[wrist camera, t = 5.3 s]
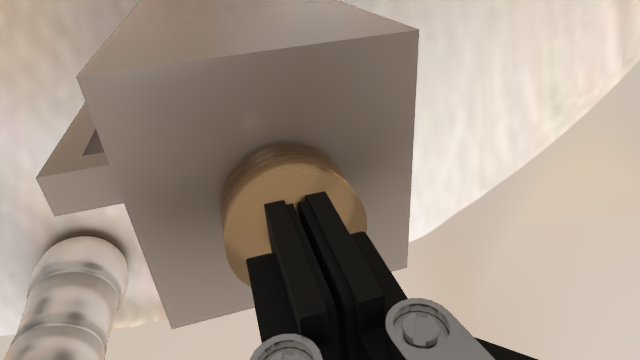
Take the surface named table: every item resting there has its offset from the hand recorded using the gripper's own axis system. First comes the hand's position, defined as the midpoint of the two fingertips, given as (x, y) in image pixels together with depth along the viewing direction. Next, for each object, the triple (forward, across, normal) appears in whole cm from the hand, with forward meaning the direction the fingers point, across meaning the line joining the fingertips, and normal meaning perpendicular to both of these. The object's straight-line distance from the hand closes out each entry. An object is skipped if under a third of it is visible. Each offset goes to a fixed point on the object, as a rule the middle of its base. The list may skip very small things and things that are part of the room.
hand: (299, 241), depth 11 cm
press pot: (+21, +2, 0) cm, 21 cm away
